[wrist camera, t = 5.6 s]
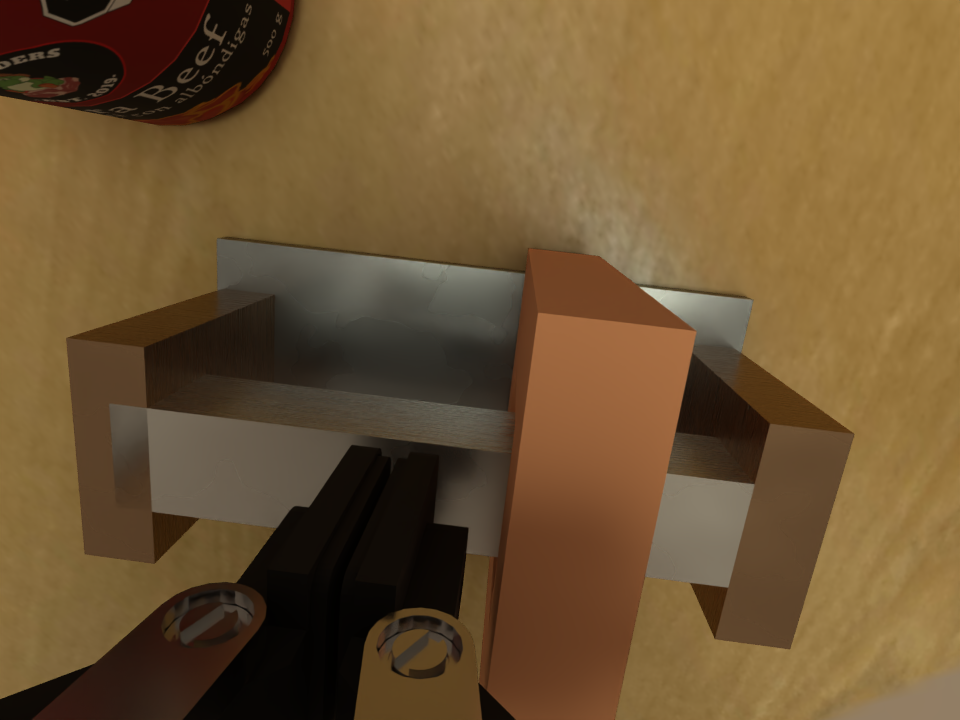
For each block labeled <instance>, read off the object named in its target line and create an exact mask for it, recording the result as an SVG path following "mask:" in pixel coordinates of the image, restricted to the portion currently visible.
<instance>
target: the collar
mask: <svg viewBox="0 0 960 720" xmlns="http://www.w3.org/2000/svg"><path fill="white" fill-rule="evenodd" d="M696 332H697V331H696V330H695V329H693V328H692V327H691V326H689V325H688V324H687V323H685V322H684V321H683V320H682V319H680V318H679V317H678V316H676V315H675V314H674V313H672V312H671V311H670V310H669V309H667V308H666V307H665V306H663V305H662V304H661V303H659V302H658V301H657V300H656V299H654V298H653V297H652V296H650V295H649V294H648V293H646V292H645V291H644V290H643V289H641V288H640V287H639V286H637V285H636V284H635V283H633V282H632V281H631V280H630V279H628V278H627V277H626V276H624V275H623V274H622V273H620V272H619V271H618V270H616V269H615V268H614V267H613V266H611V265H610V264H609V263H607V262H606V261H605V260H603V259H602V258H601V257H600V256H593V255H584V254H575V253H566V252H557V251H548V250H540V249H531V248H528V255H527V263H526V271H525V279H524V287H523V295H522V303H521V310H520V318H519V326H518V334H517V342H516V350H515V358H514V366H513V374H512V382H511V389H510V397H509V405H508V412H515V430H514V437H513V445H512V453H511V460H510V468H509V475H508V483H507V491H506V498H505V506H504V514H503V521H502V529H501V536H500V544H499V552H498V557H492V556H490V560H489V572H488V584H487V595H486V607H485V619H484V631H483V642H482V654H481V666H480V678H479V683H480V684H481V685H482V686H483V687H484V688H485V689H486V690H487V691H488V692H489V693H490V694H491V695H492V696H493V697H494V698H495V699H496V700H497V701H498V702H499V703H500V704H501V705H502V706H503V707H504V708H505V709H506V710H507V711H508V712H509V713H510V714H511V715H512V716H513V717H514V718H515V719H516V720H615V716H616V712H617V707H618V702H619V697H620V693H621V688H622V683H623V678H624V674H625V669H626V664H627V659H628V655H629V650H630V645H631V640H632V636H633V631H634V626H635V621H636V617H637V612H638V607H639V602H640V598H641V593H642V588H643V583H644V579H645V574H646V569H647V565H648V560H649V555H650V550H651V546H652V541H653V536H654V531H655V527H656V522H657V517H658V512H659V508H660V503H661V498H662V493H663V489H664V484H665V479H666V474H667V470H668V465H669V460H670V455H671V451H672V446H673V441H674V436H675V432H676V427H677V422H678V417H679V413H680V408H681V403H682V398H683V394H684V389H685V384H686V379H687V375H688V370H689V365H690V360H691V356H692V351H693V346H694V342H695V337H696Z"/></svg>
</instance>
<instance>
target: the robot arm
mask: <svg viewBox="0 0 960 720" xmlns="http://www.w3.org/2000/svg"><path fill="white" fill-rule="evenodd" d="M438 468H439V455H433V454H424V453H416V452H410V454H409V456H408V458H407V459H403V458H398V459H397V462H396V464H395V466H394V468H393V470H392V472H391V458H390V457H387V456H382V451H381V448H375V447H367V446H359V445H351V446H350V448H349V449H348V450H347V452H346V453H345V455H344V456H343V458H342V459H341V461H340V462H339V464H338V465H337V467H336V468H335V470H334V471H333V473H332V474H331V476H330V477H329V478H328V480H327V481H326V483H325V484H324V486H323V487H322V489H321V490H320V492H319V493H318V495H317V496H316V498H315V499H314V501H313V502H312V504H311V505H310V506H309V507H302V506H294V507H293V508H292V509H291V510H290V511H289V512H288V514H287V515H286V516H285V518H284V519H283V520H282V522H281V523H280V524H279V526H278V527H277V529H276V530H275V531H274V533H273V534H272V535H271V537H270V538H269V539H268V541H267V542H266V544H265V545H264V546H263V548H262V549H261V550H260V552H259V553H258V555H257V556H256V557H255V559H254V560H253V561H252V563H251V564H250V565H249V567H248V568H247V570H246V571H245V572H244V574H243V575H242V576H241V578H240V579H239V580H238V582H237V583H228V582H222V583H209V584H205V585H201V586H197V587H193V588H190V589H188V590H185V591H183V592H181V593H179V594H176V595H175V596H173V597H172V598H170V599H169V600H168V601H166V602H165V603H163V604H162V605H161V606H160V607H158V608H157V609H156V610H155V611H154V612H153V613H152V614H151V615H149V616H148V617H147V618H146V619H145V620H144V621H143V622H141V623H140V624H139V625H138V626H137V627H136V628H135V629H134V630H132V631H131V632H130V633H129V634H128V635H127V636H126V637H124V638H123V639H122V640H121V641H120V642H119V643H118V644H117V645H115V646H114V647H113V648H112V649H111V650H110V651H109V652H108V653H106V654H105V655H104V656H103V657H102V658H101V659H100V660H98V661H97V662H96V663H95V664H93V665H90V666H87V667H85V668H82V669H79V670H77V671H74V672H71V673H69V674H66V675H63V676H61V677H58V678H56V679H53V680H50V681H48V682H45V683H42V684H40V685H37V686H34V687H32V688H29V689H26V690H24V691H21V692H18V693H16V694H13V695H10V696H8V697H5V698H2V699H0V720H516V719H515V718H514V717H513V716H512V715H511V714H510V713H509V712H508V711H507V710H506V709H505V708H504V707H503V706H502V705H501V704H500V703H499V702H498V701H497V700H496V699H495V698H494V697H493V696H492V695H491V694H490V693H489V692H488V691H487V690H486V689H485V688H484V687H483V686H482V685H481V684H480V683H479V682H478V675H477V665H476V655H475V646H474V643H473V639H472V636H471V634H470V632H469V631H468V630H467V628H466V627H465V626H464V625H463V623H461V622H460V621H458V616H459V609H460V602H461V594H462V586H463V578H464V570H465V561H466V551H467V542H468V532H469V527H461V526H453V525H446V524H438V523H434V513H435V502H436V491H437V479H438ZM390 473H391V474H390Z"/></svg>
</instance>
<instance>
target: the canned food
mask: <svg viewBox="0 0 960 720" xmlns="http://www.w3.org/2000/svg"><path fill="white" fill-rule="evenodd" d="M294 1H295V0H0V96H6V97H11V98H16V99H22V100H27V101H32V102H38V103H43V104H48V105H54V106H59V107H64V108H70V109H75V110H81V111H86V112H91V113H97V114H102V115H107V116H113V117H118V118H123V119H129V120H134V121H139V122H145V123H150V124H156V125H187V124H191V123H195V122H199V121H203V120H207V119H211V118H213V117H215V116H217V115H219V114H221V113H223V112H225V111H227V110H229V109H231V108H233V107H235V106H237V105H238V104H240V103H242V102H243V101H244V100H245V99H246V98H248V97H249V96H250V95H251V94H252V93H253V92H255V91H256V90H257V89H258V88H259V87H260V86H261V84H262V83H263V82H264V80H265V79H266V78H267V76H268V75H269V74H270V73H271V71H272V70H273V69H274V67H275V65H276V63H277V61H278V59H279V57H280V55H281V52H282V50H283V48H284V46H285V44H286V41H287V37H288V33H289V30H290V26H291V22H292V19H293V11H294Z"/></svg>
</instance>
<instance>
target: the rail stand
mask: <svg viewBox="0 0 960 720" xmlns="http://www.w3.org/2000/svg"><path fill="white" fill-rule="evenodd" d="M524 279H525V271H517V270H509V269H500V268H491V267H483V266H474V265H465V264H456V263H448V262H439V261H430V260H422V259H413V258H404V257H395V256H387V255H378V254H369V253H361V252H352V251H343V250H334V249H326V248H317V247H308V246H300V245H291V244H282V243H273V242H265V241H256V240H247V239H239V238H230V237H224V238H217V283H218V291H215V292H211V293H208V294H205V295H202V296H199V297H195V298H192V299H189V300H186V301H183V302H179V303H176V304H173V305H170V306H167V307H163V308H160V309H157V310H154V311H151V312H147V313H144V314H141V315H138V316H135V317H132V318H128V319H125V320H122V321H119V322H116V323H112V324H109V325H106V326H103V327H100V328H96V329H93V330H90V331H87V332H84V333H80V334H77V335H74V336H71V337H68V338H66V341H67V353H68V364H69V376H70V387H71V399H72V411H73V422H74V434H75V446H76V457H77V469H78V480H79V492H80V504H81V515H82V527H83V539H84V550H85V554H87V555H94V556H102V557H109V558H117V559H124V560H131V561H139V562H146V563H154V564H155V563H156V562H157V561H158V560H159V559H160V558H161V557H162V556H163V555H164V554H165V553H166V552H167V551H168V550H169V549H170V548H171V547H172V546H173V545H174V544H175V543H176V542H177V541H178V540H179V539H180V538H181V537H182V536H183V535H184V533H185V532H186V531H187V530H188V529H189V528H190V527H191V526H192V525H193V524H194V523H195V522H196V521H197V520H198V519H199V518H203V519H211V520H218V521H226V522H233V523H241V524H249V525H256V526H264V527H271V528H277V527H278V526H279V524H280V523H281V522H282V520H283V519H284V518H285V516H286V515H287V514H288V512H289V511H290V510H291V509H292V508H293V507H294V506H302V507H309V506H310V505H311V504H312V502H313V501H314V499H315V498H316V496H317V495H318V493H319V492H320V490H321V489H322V487H323V486H324V484H325V483H326V481H327V480H328V478H329V477H330V476H331V474H332V473H333V471H334V470H335V468H336V467H337V465H338V464H339V462H340V461H341V459H342V458H343V456H344V455H345V453H346V452H347V450H348V449H349V448H350V446H351V445H359V446H367V447H375V448H381V451H382V456H387V457H390V458H391V472H392V470H393V468H394V466H395V464H396V462H397V459H398V458H403V459H407V458H408V456H409V454H410V452H416V453H424V454H433V455H439V468H438V479H437V491H436V502H435V513H434V523H438V524H446V525H453V526H461V527H469V532H468V542H467V551H466V553H469V554H476V555H484V556H492V557H498V552H499V544H500V536H501V529H502V521H503V514H504V506H505V498H506V491H507V483H508V475H509V468H510V460H511V453H512V445H513V437H514V430H515V412H508V405H509V397H510V389H511V382H512V374H513V366H514V358H515V350H516V342H517V334H518V326H519V318H520V310H521V303H522V295H523V287H524ZM636 285H637V286H639V287H640V288H641V289H643V290H644V291H645V292H646V293H648V294H649V295H650V296H652V297H653V298H654V299H656V300H657V301H658V302H659V303H661V304H662V305H663V306H665V307H666V308H667V309H669V310H670V311H671V312H672V313H674V314H675V315H676V316H678V317H679V318H680V319H682V320H683V321H684V322H685V323H687V324H688V325H689V326H691V327H692V328H693V329H695V330H696V331H697V332H696V337H695V342H694V346H693V351H692V356H691V360H690V365H689V370H688V375H687V379H686V384H685V389H684V394H683V398H682V403H681V408H680V413H679V417H678V422H677V427H676V432H675V436H674V441H673V446H672V451H671V455H670V460H669V465H668V470H667V474H666V479H665V484H664V489H663V493H662V498H661V503H660V508H659V512H658V517H657V522H656V527H655V531H654V536H653V541H652V546H651V550H650V555H649V560H648V565H647V569H646V574H645V577H651V578H659V579H666V580H674V581H682V582H689V583H691V586H692V588H693V590H694V592H695V595H696V597H697V599H698V602H699V604H700V606H701V608H702V611H703V613H704V615H705V617H706V620H707V622H708V624H709V627H710V629H711V631H712V633H713V636H714V638H715V639H718V640H725V641H733V642H740V643H747V644H755V645H762V646H770V647H777V648H785V649H790V648H791V644H792V641H793V638H794V634H795V631H796V628H797V624H798V621H799V618H800V614H801V611H802V608H803V604H804V601H805V598H806V594H807V591H808V588H809V584H810V581H811V578H812V574H813V571H814V568H815V564H816V561H817V558H818V554H819V551H820V548H821V544H822V541H823V538H824V534H825V531H826V528H827V524H828V521H829V518H830V514H831V511H832V508H833V504H834V501H835V498H836V494H837V491H838V488H839V484H840V481H841V478H842V474H843V471H844V467H845V464H846V461H847V457H848V454H849V451H850V447H851V444H852V441H853V437H854V433H852V432H851V431H850V430H848V429H847V428H845V427H844V426H843V425H841V424H840V423H838V422H837V421H836V420H834V419H833V418H831V417H830V416H829V415H827V414H826V413H824V412H823V411H822V410H820V409H819V408H817V407H816V406H815V405H813V404H812V403H810V402H809V401H808V400H806V399H805V398H803V397H802V396H801V395H799V394H798V393H796V392H795V391H794V390H792V389H791V388H789V387H788V386H787V385H785V384H784V383H782V382H781V381H780V380H778V379H777V378H775V377H774V376H772V375H771V374H770V373H768V372H767V371H765V370H764V369H763V368H761V367H760V366H758V365H757V364H756V363H754V362H753V361H751V360H750V359H749V358H747V357H746V356H744V355H743V354H742V353H741V351H742V347H743V342H744V338H745V334H746V329H747V325H748V321H749V317H750V312H751V308H752V304H753V300H752V299H750V298H748V297H744V296H735V295H727V294H718V293H709V292H700V291H692V290H683V289H674V288H666V287H657V286H648V285H639V284H636ZM390 474H391V473H390Z"/></svg>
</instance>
